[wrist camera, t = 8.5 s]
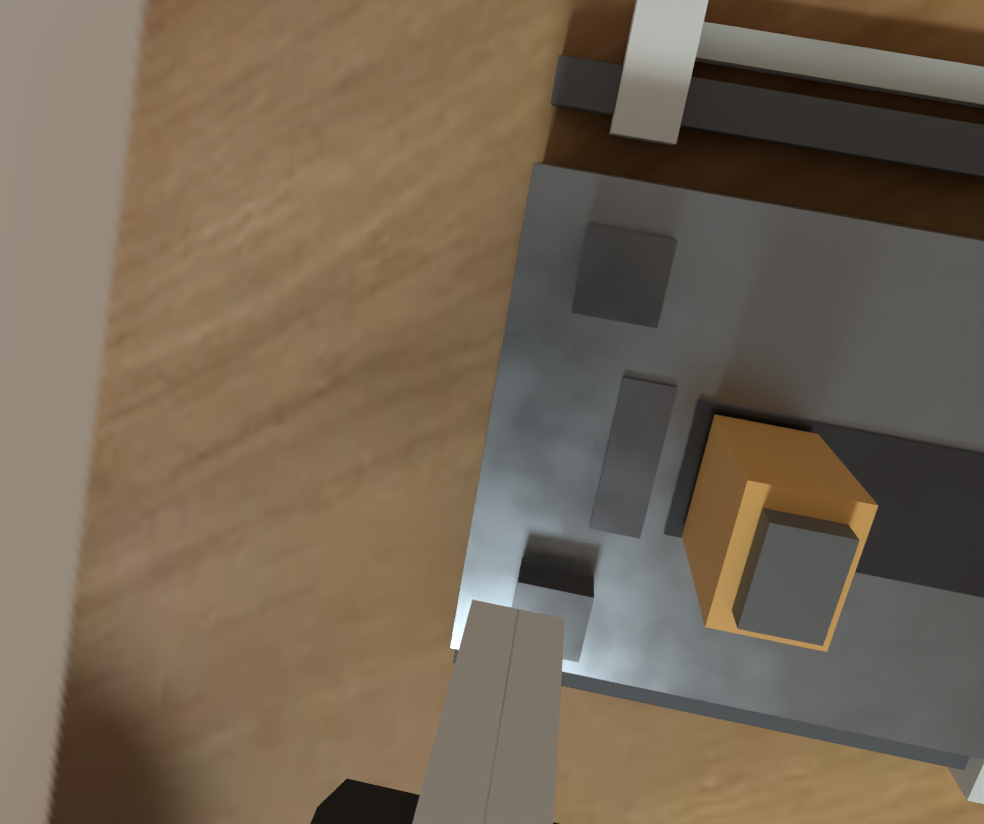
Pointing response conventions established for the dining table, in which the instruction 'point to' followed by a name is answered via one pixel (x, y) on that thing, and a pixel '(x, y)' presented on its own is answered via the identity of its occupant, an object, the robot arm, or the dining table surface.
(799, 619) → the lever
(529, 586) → the panel
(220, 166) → the dining table surface
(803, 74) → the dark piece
